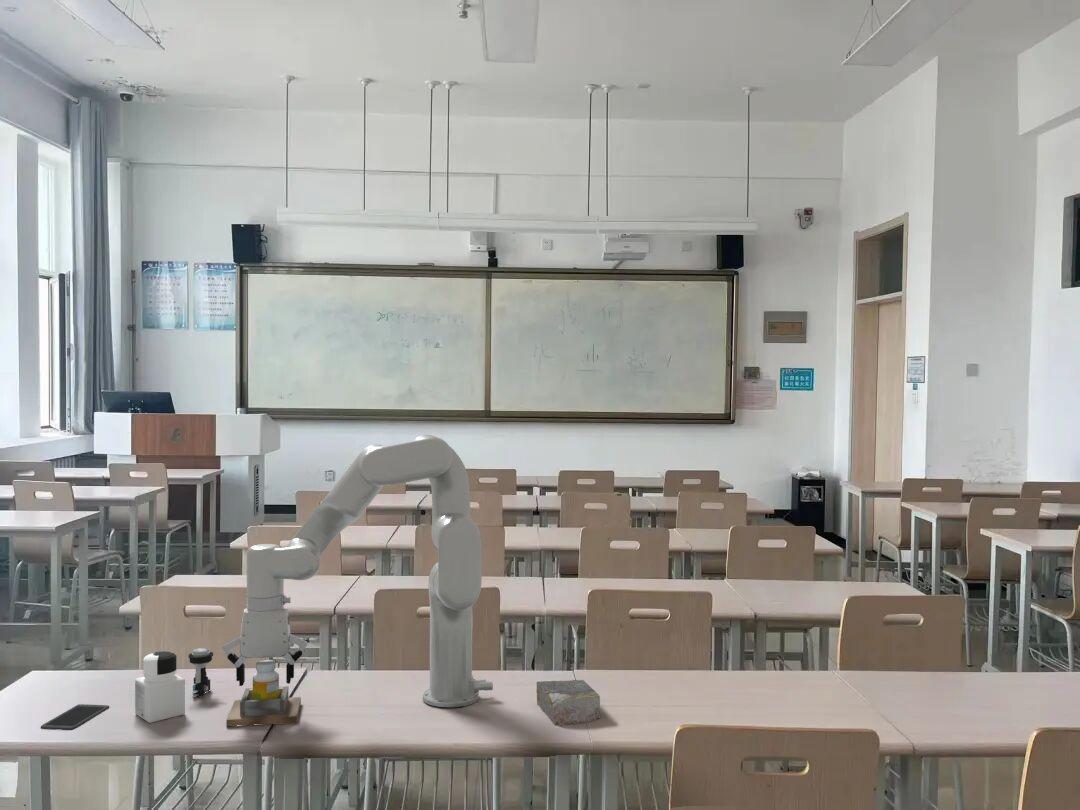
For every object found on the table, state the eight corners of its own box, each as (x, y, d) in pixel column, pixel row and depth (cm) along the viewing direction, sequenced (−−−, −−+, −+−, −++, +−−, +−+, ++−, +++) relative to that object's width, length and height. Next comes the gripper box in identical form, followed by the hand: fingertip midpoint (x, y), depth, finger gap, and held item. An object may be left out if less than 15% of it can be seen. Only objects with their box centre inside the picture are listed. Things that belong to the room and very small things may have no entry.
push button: (204, 699, 208) (204, 655, 208) (181, 699, 208) (181, 654, 208) (217, 690, 214) (217, 647, 214) (194, 689, 215) (194, 646, 214)
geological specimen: (581, 677, 211) (603, 694, 196) (580, 704, 211) (603, 724, 196) (535, 679, 208) (555, 697, 193) (535, 707, 208) (554, 727, 193)
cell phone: (110, 708, 203) (110, 705, 203) (72, 731, 189) (72, 728, 189) (78, 707, 204) (78, 703, 203) (38, 730, 190) (38, 726, 190)
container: (170, 705, 204) (170, 646, 204) (185, 714, 198) (185, 654, 198) (134, 714, 198) (134, 653, 198) (149, 723, 193) (149, 661, 193)
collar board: (300, 703, 206) (300, 683, 205) (296, 723, 194) (296, 701, 194) (234, 707, 203) (234, 686, 203) (226, 727, 191) (226, 705, 191)
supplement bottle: (247, 708, 198) (247, 662, 198) (270, 702, 202) (270, 657, 202) (260, 714, 195) (261, 667, 194) (283, 707, 198) (283, 662, 198)
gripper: (308, 597, 203) (308, 675, 204) (225, 600, 200) (225, 679, 200) (305, 605, 196) (306, 686, 196) (220, 608, 193) (220, 690, 193)
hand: (265, 682), depth 198 cm, fingers open, 9 cm apart
